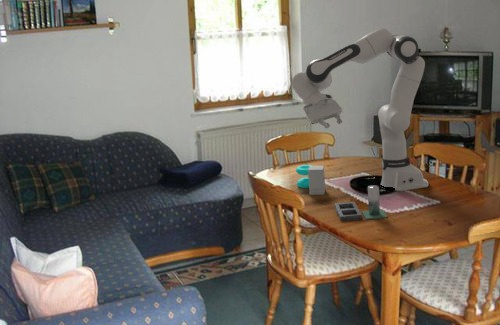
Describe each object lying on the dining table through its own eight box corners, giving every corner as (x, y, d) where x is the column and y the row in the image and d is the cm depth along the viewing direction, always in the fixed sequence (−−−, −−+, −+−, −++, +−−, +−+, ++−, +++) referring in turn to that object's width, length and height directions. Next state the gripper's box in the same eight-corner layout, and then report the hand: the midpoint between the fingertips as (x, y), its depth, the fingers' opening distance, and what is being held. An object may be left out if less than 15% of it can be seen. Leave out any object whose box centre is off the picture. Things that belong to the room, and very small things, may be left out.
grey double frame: (354, 205, 267) (354, 201, 266) (361, 219, 250) (361, 214, 250) (334, 207, 267) (334, 203, 266) (340, 221, 250) (340, 216, 250)
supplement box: (324, 194, 285) (323, 169, 282) (309, 195, 287) (307, 170, 284) (325, 189, 292) (324, 165, 289) (310, 190, 294) (309, 165, 291)
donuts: (291, 167, 300) (307, 163, 305) (293, 186, 303) (308, 181, 308) (303, 171, 292) (319, 166, 297) (305, 190, 295) (320, 185, 300)
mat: (382, 210, 258) (382, 209, 258) (387, 217, 249) (387, 216, 249) (361, 212, 258) (361, 211, 258) (365, 219, 249) (365, 218, 249)
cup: (378, 211, 256) (377, 184, 252) (380, 215, 251) (379, 188, 248) (368, 212, 256) (366, 185, 252) (370, 216, 251) (368, 189, 248)
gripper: (305, 102, 263) (324, 125, 259) (333, 94, 277) (351, 116, 273) (298, 111, 268) (316, 134, 263) (326, 103, 281) (344, 124, 277)
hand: (334, 125), depth 268 cm, fingers open, 8 cm apart
